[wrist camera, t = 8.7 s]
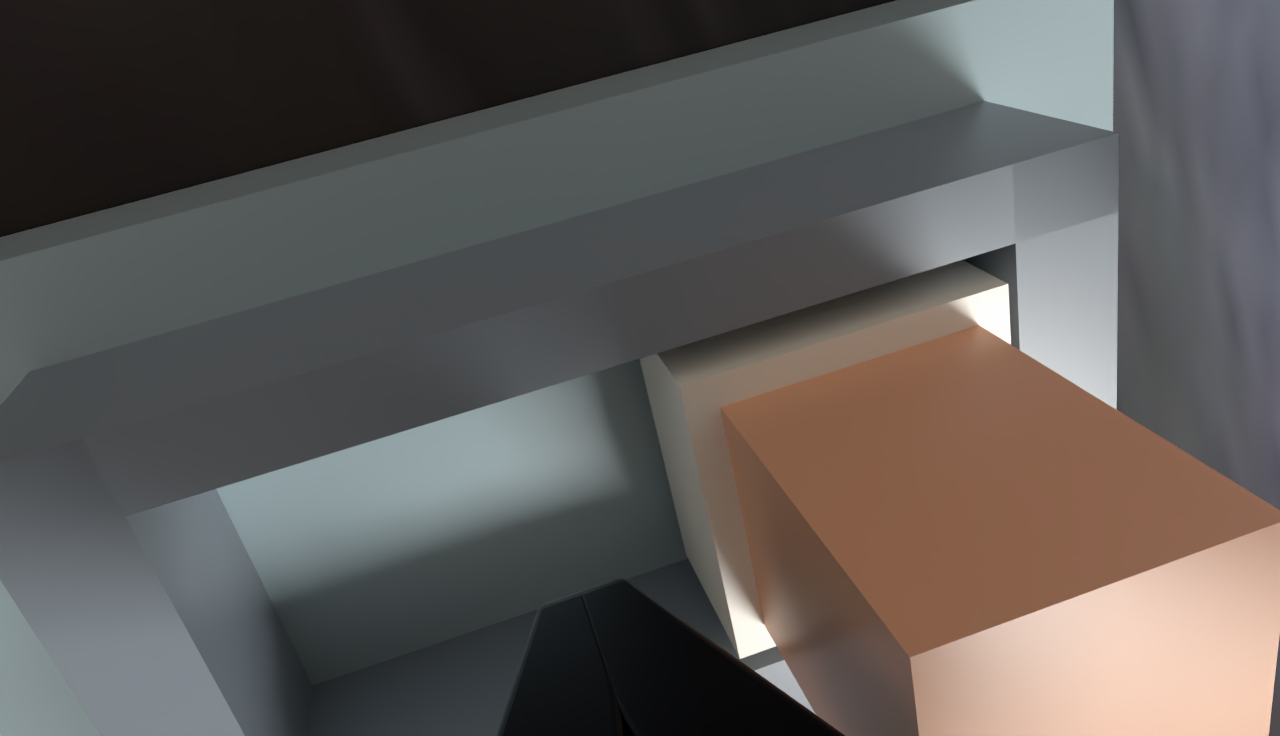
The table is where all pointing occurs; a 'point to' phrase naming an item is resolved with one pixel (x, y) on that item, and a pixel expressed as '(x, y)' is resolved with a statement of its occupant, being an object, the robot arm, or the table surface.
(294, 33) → the table surface
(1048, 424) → the tab
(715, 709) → the robot arm
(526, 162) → the switch plate
